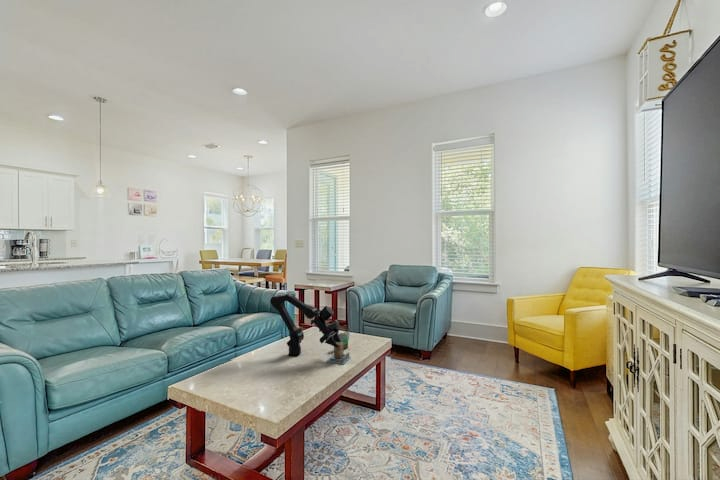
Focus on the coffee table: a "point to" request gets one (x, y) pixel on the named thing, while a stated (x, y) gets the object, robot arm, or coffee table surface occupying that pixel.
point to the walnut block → (338, 350)
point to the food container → (344, 339)
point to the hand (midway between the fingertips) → (339, 345)
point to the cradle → (339, 361)
